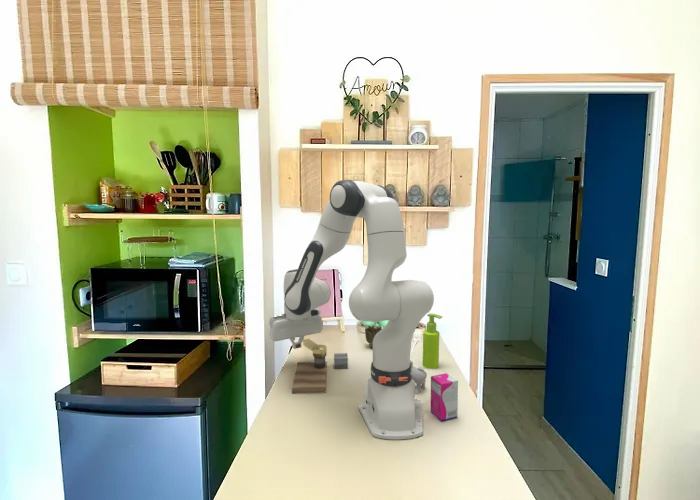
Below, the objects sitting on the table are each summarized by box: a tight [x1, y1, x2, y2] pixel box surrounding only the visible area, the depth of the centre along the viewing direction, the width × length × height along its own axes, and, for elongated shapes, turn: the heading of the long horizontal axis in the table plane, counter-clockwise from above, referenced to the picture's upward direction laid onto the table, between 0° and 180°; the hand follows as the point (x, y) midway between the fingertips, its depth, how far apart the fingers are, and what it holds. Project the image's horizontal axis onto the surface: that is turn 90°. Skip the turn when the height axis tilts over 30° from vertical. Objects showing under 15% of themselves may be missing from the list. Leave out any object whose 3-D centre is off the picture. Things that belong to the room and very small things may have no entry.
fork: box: [410, 333, 422, 354], centre depth 173 cm, size 3×20×2 cm, turn 162°
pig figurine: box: [410, 359, 428, 394], centre depth 134 cm, size 5×13×11 cm, turn 54°
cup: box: [364, 325, 383, 349], centre depth 169 cm, size 8×7×8 cm
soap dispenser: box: [422, 313, 443, 370], centre depth 150 cm, size 6×7×20 cm
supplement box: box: [430, 372, 459, 423], centre depth 116 cm, size 6×6×12 cm
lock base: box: [291, 352, 349, 394], centre depth 141 cm, size 23×19×6 cm
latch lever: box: [302, 338, 328, 358], centre depth 149 cm, size 14×5×3 cm, turn 33°
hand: (297, 347), depth 150 cm, fingers closed
